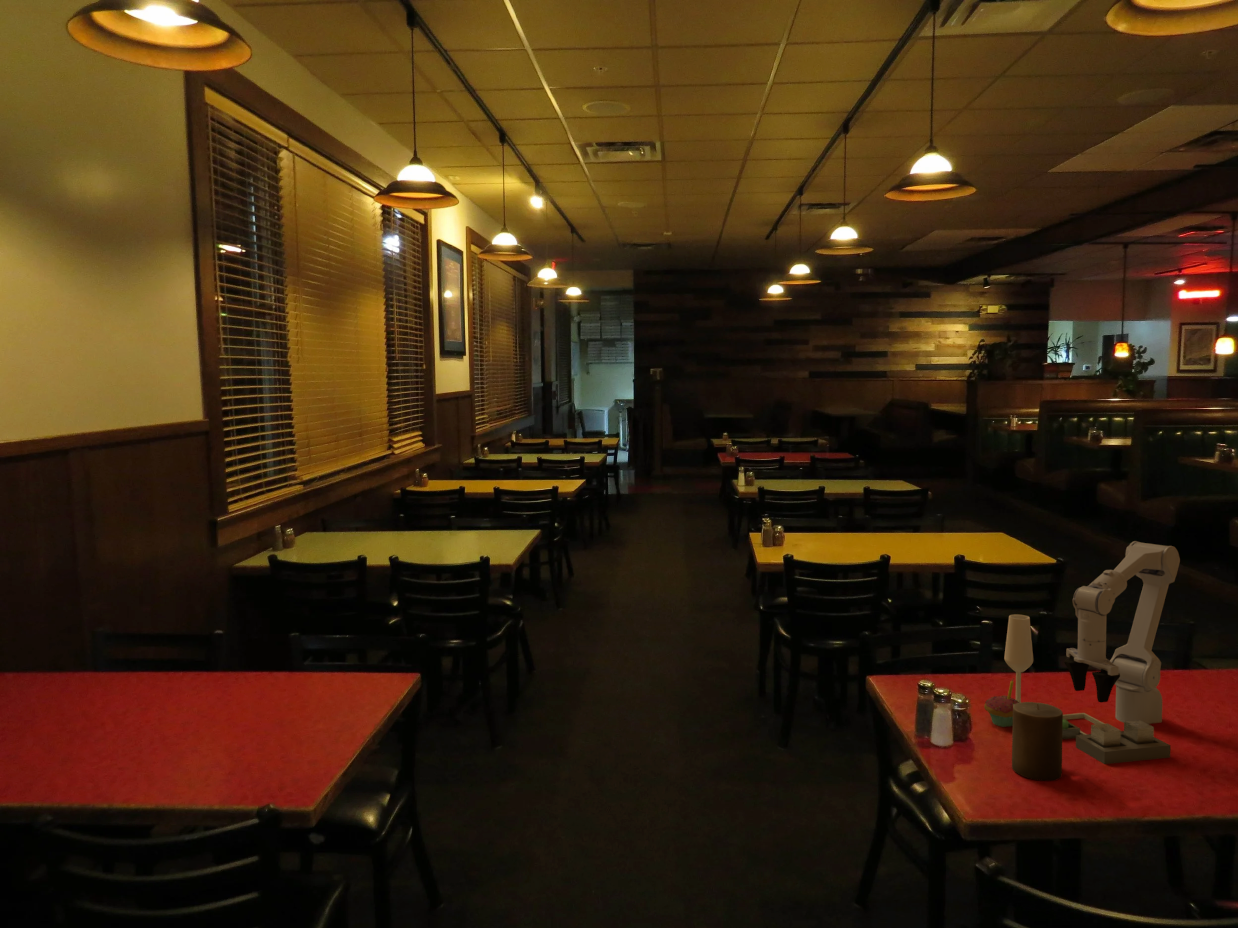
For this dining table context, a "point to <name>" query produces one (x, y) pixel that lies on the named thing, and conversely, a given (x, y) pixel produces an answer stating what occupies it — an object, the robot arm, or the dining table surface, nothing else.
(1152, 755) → the grey holding fixture
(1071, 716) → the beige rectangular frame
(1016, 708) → the pillar candle
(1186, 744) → the dining table surface
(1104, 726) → the block
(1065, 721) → the button
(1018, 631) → the champagne flute
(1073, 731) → the switch box
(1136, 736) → the seated billet
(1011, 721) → the cupcake
